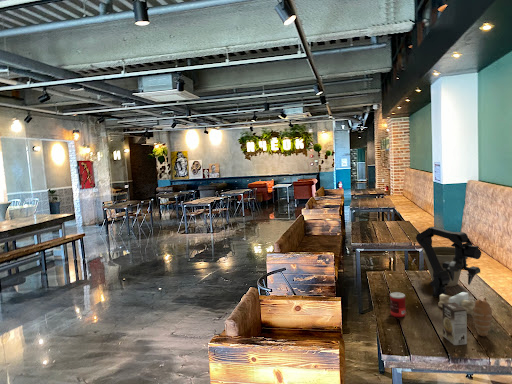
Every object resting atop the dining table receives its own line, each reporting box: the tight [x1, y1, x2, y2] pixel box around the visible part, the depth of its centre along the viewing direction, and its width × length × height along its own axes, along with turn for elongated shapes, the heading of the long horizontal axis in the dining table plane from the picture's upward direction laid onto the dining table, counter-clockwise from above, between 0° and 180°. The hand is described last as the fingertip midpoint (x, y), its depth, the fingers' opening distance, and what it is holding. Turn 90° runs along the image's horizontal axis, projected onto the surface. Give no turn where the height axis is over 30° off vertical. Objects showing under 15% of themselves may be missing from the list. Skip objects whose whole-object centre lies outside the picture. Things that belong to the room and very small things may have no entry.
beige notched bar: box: [437, 294, 476, 317], centre depth 208 cm, size 20×6×6 cm, turn 35°
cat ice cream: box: [472, 296, 493, 337], centre depth 178 cm, size 9×8×18 cm
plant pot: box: [422, 246, 462, 288], centre depth 250 cm, size 25×25×22 cm
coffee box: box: [441, 302, 468, 346], centre depth 176 cm, size 9×6×16 cm
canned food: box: [389, 291, 407, 318], centre depth 207 cm, size 8×8×11 cm
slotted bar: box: [449, 291, 469, 305], centre depth 208 cm, size 14×3×8 cm, turn 125°
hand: (460, 282), depth 216 cm, fingers open, 9 cm apart
